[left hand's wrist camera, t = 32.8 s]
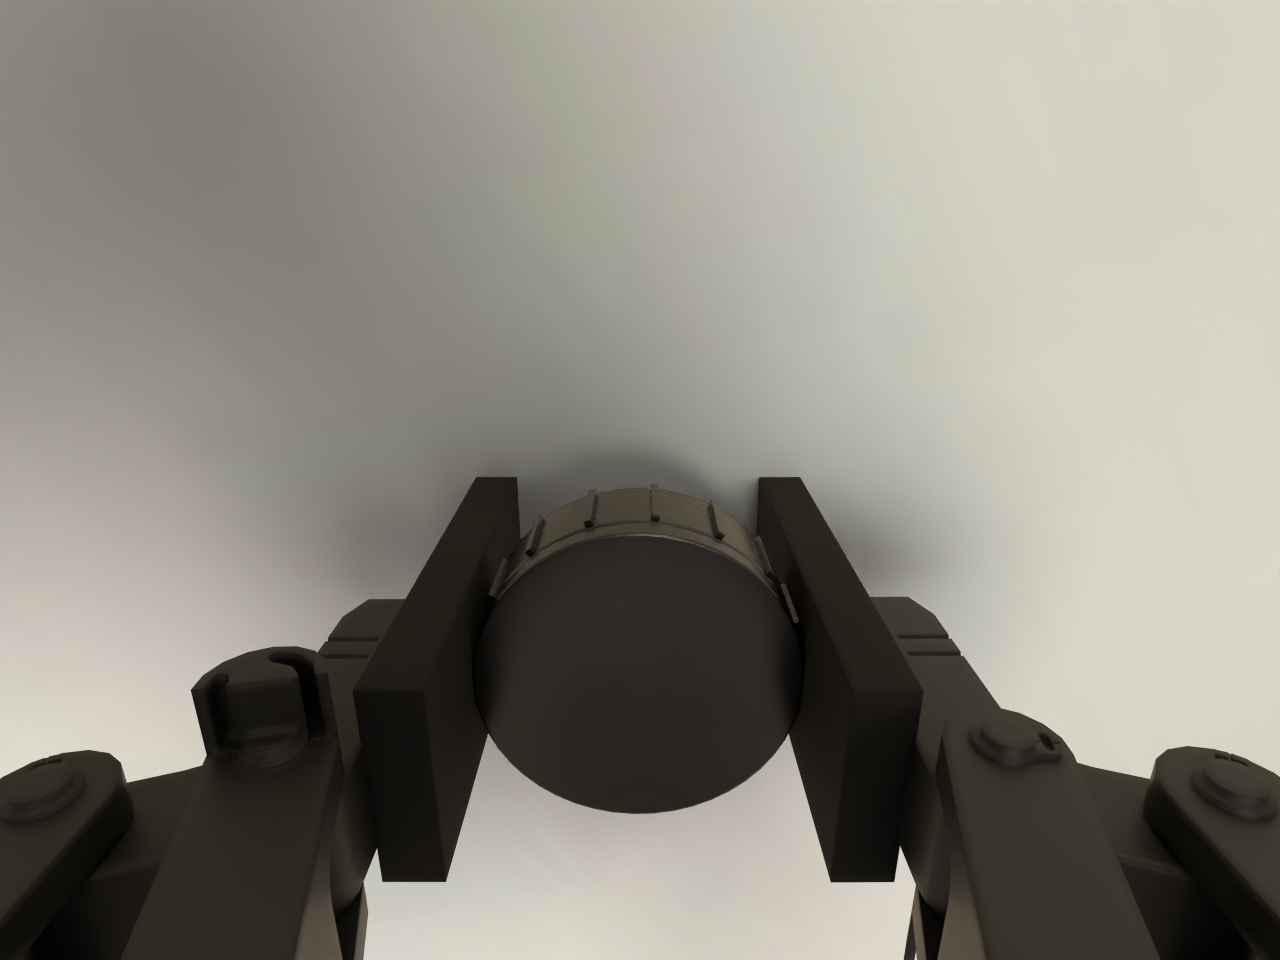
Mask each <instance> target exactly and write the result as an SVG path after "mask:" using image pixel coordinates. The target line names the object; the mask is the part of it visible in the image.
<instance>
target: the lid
mask: <svg viewBox="0 0 1280 960" xmlns="http://www.w3.org/2000/svg"><path fill="white" fill-rule="evenodd" d="M486 600H487V601H490V604H489V607H488V610H487V613H486V615H485V618H484V621H483V623H482V626H481V629H480V632H479V635H478V638H477V640H476V645H475V651H474V656H473V686H474V694H475V699H476V703H477V706H478V710H479V713H480V716H481V718H482V720H483V723H484V725H485V727H486V729H487V732H488V733H489V735H490V736H491V738H492V740H493V741H494V743H495V744H496V746H497V747H498V749H499V750H500V751H501V752H502V753H503V755H504V756H505V757H506V758H507V759H508V760H509V762H510V763H511V764H513V765H514V766H515V767H516V768H517V769H518V770H519V771H520V772H521V773H522V774H523V775H525V776H526V777H528V778H529V779H530V780H532V781H533V782H535V783H536V784H537V785H539V786H540V787H542V788H544V789H546V790H548V791H549V792H551V793H553V794H555V795H557V796H559V797H561V798H564V799H566V800H569V801H571V802H573V803H576V804H580V805H583V806H587V807H590V808H593V809H599V810H604V811H609V812H617V813H629V814H647V813H660V812H668V811H675V810H679V809H683V808H688V807H692V806H695V805H698V804H701V803H704V802H706V801H709V800H712V799H714V798H716V797H718V796H720V795H722V794H724V793H727V792H729V791H730V790H732V789H734V788H735V787H737V786H738V785H740V784H742V783H743V782H745V781H746V780H747V779H749V778H750V777H751V776H752V775H754V774H755V773H756V772H757V771H759V770H760V769H761V768H762V767H763V766H764V765H765V764H766V763H767V762H768V761H769V760H770V759H771V758H772V756H773V755H774V754H775V753H776V751H777V750H778V749H779V747H780V746H781V745H782V743H783V742H784V741H785V739H786V737H787V735H788V733H789V731H790V730H791V728H792V726H793V724H794V721H795V718H796V716H797V713H798V710H799V708H800V704H801V699H802V693H803V682H804V657H803V650H802V646H801V642H800V638H799V635H798V631H797V629H798V628H800V621H799V618H798V615H797V612H796V610H795V607H794V604H793V602H792V599H791V596H790V594H789V591H788V588H787V585H786V583H784V584H780V581H779V578H778V576H777V574H776V571H775V569H774V567H773V564H772V562H771V561H770V559H769V556H768V553H767V550H766V547H765V545H764V542H763V539H762V538H761V537H760V536H757V537H756V538H754V537H753V536H752V535H751V533H749V532H748V531H747V530H746V529H745V528H744V527H743V526H742V525H741V524H739V523H738V522H737V521H736V520H735V519H733V518H732V517H730V516H729V515H727V514H726V513H724V512H723V511H721V510H720V509H719V506H718V503H717V502H715V501H713V500H711V502H710V503H709V504H708V503H706V502H704V501H701V500H699V499H696V498H693V497H690V496H687V495H684V494H680V493H675V492H671V491H666V490H659V487H658V484H651V489H648V488H632V489H619V490H612V491H606V492H601V493H597V492H596V489H593V490H590V491H589V492H588V496H587V497H584V498H581V499H579V500H576V501H574V502H572V503H569V504H567V505H565V506H563V507H562V508H560V509H558V510H556V511H555V512H553V513H551V514H550V515H548V516H547V517H546V518H544V519H543V517H542V516H541V515H540V516H538V517H537V518H536V519H535V521H534V524H533V527H532V529H531V530H530V531H529V532H528V533H527V534H526V535H525V536H524V537H523V538H522V539H521V541H520V542H519V543H518V545H517V546H516V548H515V549H514V550H513V552H512V553H511V554H510V556H509V558H508V560H507V559H505V558H502V560H501V561H500V564H499V566H498V569H497V571H496V574H495V577H494V579H493V582H492V584H491V587H490V590H489V592H488V595H487V597H486Z"/></svg>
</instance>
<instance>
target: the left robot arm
mask: <svg viewBox="0 0 1280 960" xmlns="http://www.w3.org/2000/svg"><path fill="white" fill-rule="evenodd" d="M757 536H760V537H761V538H762V539H763V542H764V545H765V547H766V550H767V553H768V556H769V559H770V561H771V562H772V564H773V567H774V569H775V571H776V574H777V576H778V578H779V581H780V584H784V583H786V585H787V588H788V591H789V594H790V596H791V599H792V602H793V604H794V607H795V610H796V612H797V615H798V618H799V621H800V628H798V629H797V631H798V635H799V638H800V642H801V646H802V650H803V657H804V682H803V693H802V699H801V704H800V708H799V710H798V713H797V716H796V718H795V721H794V724H793V726H792V728H791V730H790V731H789V737H790V740H791V744H792V747H793V751H794V754H795V758H796V761H797V765H798V768H799V772H800V775H801V779H802V782H803V786H804V789H805V793H806V796H807V800H808V803H809V807H810V810H811V814H812V817H813V821H814V824H815V828H816V831H817V835H818V838H819V842H820V846H821V849H822V853H823V856H824V860H825V863H826V867H827V870H828V874H829V877H830V881H831V882H894V880H895V873H896V867H897V861H898V854H899V848H900V846H901V849H902V851H903V854H904V856H905V859H906V861H907V864H908V866H909V868H910V871H911V873H912V876H913V878H914V881H915V883H916V888H915V894H914V900H913V906H912V912H911V918H910V924H909V930H908V936H907V942H906V948H905V955H904V960H914V959H915V953H916V954H917V960H1280V777H1279V776H1278V775H1276V774H1275V773H1273V772H1271V771H1269V770H1267V769H1265V768H1263V767H1261V766H1259V765H1257V764H1255V763H1253V762H1251V761H1249V760H1247V759H1245V758H1242V757H1240V756H1237V755H1234V754H1228V753H1227V752H1223V751H1219V750H1215V749H1208V748H1199V747H1191V746H1186V747H1180V748H1173V749H1167V750H1166V751H1165V752H1164V753H1163V754H1161V755H1160V756H1159V757H1158V758H1157V759H1156V761H1155V764H1154V768H1153V771H1152V775H1151V778H1150V779H1147V778H1142V777H1137V776H1132V775H1128V774H1123V773H1118V772H1113V771H1108V770H1104V769H1099V768H1094V767H1090V766H1087V765H1083V764H1080V763H1077V762H1076V759H1075V757H1074V755H1073V753H1072V752H1071V750H1070V749H1069V747H1068V746H1067V745H1066V743H1065V742H1064V740H1063V739H1062V738H1061V737H1060V736H1058V735H1057V734H1056V733H1054V732H1053V731H1052V730H1050V729H1049V728H1048V727H1046V726H1045V725H1044V724H1042V723H1040V722H1038V721H1036V720H1034V719H1031V718H1029V717H1027V716H1025V715H1023V714H1020V713H1017V712H1013V711H1009V710H1005V709H1001V708H1000V707H999V705H998V704H997V702H996V701H995V700H994V698H993V697H992V695H991V694H990V693H989V691H988V690H987V688H986V687H985V686H984V684H983V683H982V681H981V680H980V678H979V677H978V676H977V674H976V673H975V671H974V670H973V669H972V667H971V666H970V664H969V663H968V662H967V660H966V659H965V657H964V656H961V654H960V650H959V649H958V648H957V646H956V645H955V643H954V642H953V641H952V639H949V637H948V633H947V632H946V631H945V629H944V628H943V626H942V625H941V624H940V622H939V621H938V619H937V618H936V617H935V615H934V614H933V613H931V612H930V611H928V610H927V609H925V608H924V607H922V606H921V605H919V604H918V603H916V602H915V601H913V600H912V599H910V598H909V597H869V595H868V594H867V592H866V590H865V588H864V587H863V585H862V583H861V581H860V580H859V578H858V576H857V575H856V573H855V571H854V569H853V568H852V566H851V564H850V563H849V561H848V559H847V557H846V556H845V554H844V552H843V551H842V549H841V547H840V545H839V544H838V542H837V540H836V538H835V537H834V535H833V533H832V532H831V530H830V528H829V526H828V525H827V523H826V521H825V520H824V518H823V516H822V514H821V513H820V511H819V509H818V508H817V506H816V504H815V502H814V501H813V499H812V497H811V495H810V494H809V492H808V490H807V489H806V487H805V485H804V483H803V482H802V480H801V478H800V477H760V480H759V497H758V514H757V531H756V537H757ZM520 541H521V539H520V523H519V506H518V490H517V477H476V479H475V481H474V482H473V484H472V486H471V487H470V489H469V491H468V493H467V494H466V496H465V498H464V499H463V501H462V503H461V505H460V506H459V508H458V510H457V512H456V513H455V515H454V517H453V518H452V520H451V522H450V524H449V525H448V527H447V529H446V530H445V532H444V534H443V536H442V537H441V539H440V541H439V542H438V544H437V546H436V548H435V549H434V551H433V553H432V554H431V556H430V558H429V560H428V561H427V563H426V565H425V567H424V568H423V570H422V572H421V573H420V575H419V577H418V579H417V580H416V582H415V584H414V585H413V587H412V589H411V591H410V592H409V594H408V596H407V597H406V599H369V600H367V601H366V602H364V603H363V604H361V605H360V606H358V607H357V608H355V609H354V610H352V611H351V612H349V613H348V614H346V615H345V616H343V617H342V619H341V620H340V622H339V623H338V624H337V626H336V627H335V629H334V630H333V631H332V633H331V634H330V636H329V637H328V642H325V643H324V644H323V646H322V647H321V648H320V650H319V651H318V653H317V652H316V651H313V650H309V649H305V648H301V647H297V646H291V647H270V648H266V649H261V650H256V651H252V652H247V653H245V654H242V655H240V656H237V657H235V658H232V659H230V660H227V661H225V662H223V663H221V664H220V665H218V666H217V667H215V668H214V669H212V670H210V671H209V672H207V673H206V674H204V675H203V676H202V677H201V678H200V680H199V681H198V682H197V683H196V684H195V686H194V687H193V688H192V689H191V693H192V697H193V701H194V705H195V709H196V713H197V717H198V721H199V725H200V729H201V733H202V737H203V741H204V746H205V750H206V754H207V756H206V758H205V761H204V763H203V765H202V766H199V767H195V768H192V769H188V770H185V771H180V772H175V773H171V774H166V775H161V776H157V777H152V778H147V779H143V780H138V781H133V782H129V783H127V782H126V779H125V775H124V772H123V769H122V765H121V762H119V761H118V760H117V759H116V758H114V757H113V756H112V755H111V754H110V753H104V752H98V751H92V750H85V751H77V752H68V753H61V754H58V755H54V756H49V757H48V758H43V759H40V760H37V761H35V762H32V763H30V764H28V765H26V766H24V767H22V768H20V769H18V770H16V771H14V772H12V773H10V774H8V775H6V776H4V777H2V778H1V779H0V960H363V956H364V946H365V937H366V928H367V918H368V908H367V901H366V894H365V888H364V883H363V881H364V879H365V876H366V874H367V871H368V869H369V866H370V864H371V861H372V859H373V856H374V854H375V851H376V849H377V850H378V856H379V862H380V869H381V875H382V881H383V882H446V879H447V876H448V872H449V869H450V865H451V862H452V858H453V855H454V851H455V848H456V844H457V841H458V837H459V834H460V830H461V827H462V823H463V820H464V816H465V813H466V809H467V806H468V802H469V799H470V795H471V791H472V788H473V784H474V781H475V777H476V774H477V770H478V767H479V763H480V760H481V756H482V753H483V749H484V746H485V742H486V739H487V735H488V732H487V729H486V727H485V725H484V723H483V720H482V718H481V716H480V713H479V710H478V706H477V703H476V699H475V694H474V686H473V656H474V651H475V645H476V640H477V638H478V635H479V632H480V629H481V626H482V623H483V621H484V618H485V615H486V613H487V610H488V607H489V604H490V601H487V600H486V597H487V595H488V592H489V590H490V587H491V584H492V582H493V579H494V577H495V574H496V571H497V569H498V566H499V564H500V561H501V560H502V558H505V559H507V560H508V558H509V556H510V554H511V553H512V552H513V550H514V549H515V548H516V546H517V545H518V543H519V542H520Z"/></svg>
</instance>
